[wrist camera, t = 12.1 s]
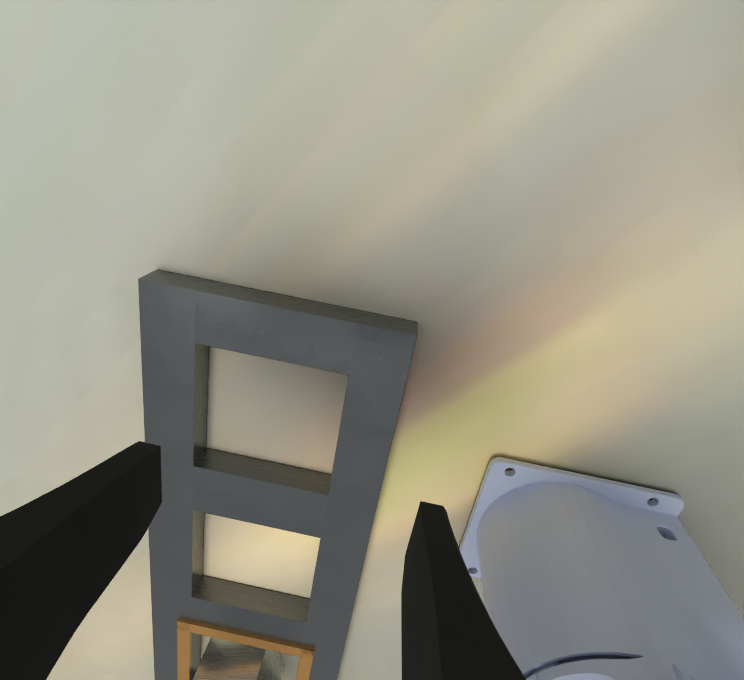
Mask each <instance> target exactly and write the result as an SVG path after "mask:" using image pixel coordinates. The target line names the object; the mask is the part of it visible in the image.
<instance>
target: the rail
mask: <svg viewBox="0 0 744 680" xmlns="http://www.w3.org/2000/svg"><path fill="white" fill-rule="evenodd" d="M138 282H139V306H140V331H141V355H142V379H143V404H144V428H145V443H150V444H155V445H159V446H161V480H162V503H161V505H160V507H159V509H158V511H157V513H156V514H155V516H154V518H153V520H152V522H151V524H150V525H149V550H150V574H151V598H152V622H153V647H154V671H155V680H193V678H194V676H195V673H196V671H197V669H198V666H199V664H200V655H201V635H204V636H209V637H213V638H218V639H222V640H226V641H231V642H235V643H240V644H244V645H249V646H253V647H258V648H262V649H267V650H271V651H275V652H280V653H284V654H289V655H293V656H298V657H300V660H299V665H298V671H297V677H296V680H336V679H337V674H338V670H339V666H340V662H341V657H342V653H343V649H344V644H345V640H346V636H347V632H348V627H349V623H350V619H351V615H352V610H353V606H354V602H355V597H356V593H357V589H358V585H359V580H360V576H361V572H362V567H363V563H364V559H365V555H366V550H367V546H368V542H369V538H370V533H371V529H372V525H373V520H374V516H375V512H376V508H377V503H378V499H379V495H380V491H381V486H382V482H383V478H384V473H385V469H386V465H387V461H388V456H389V452H390V448H391V444H392V439H393V435H394V431H395V426H396V422H397V418H398V414H399V409H400V405H401V401H402V397H403V392H404V388H405V384H406V379H407V375H408V371H409V367H410V362H411V358H412V354H413V350H414V345H415V341H416V337H417V323H418V322H414V321H409V320H404V319H400V318H395V317H390V316H385V315H380V314H375V313H370V312H365V311H360V310H355V309H350V308H345V307H340V306H335V305H330V304H325V303H320V302H315V301H310V300H306V299H301V298H296V297H291V296H286V295H281V294H276V293H271V292H266V291H261V290H256V289H251V288H246V287H241V286H236V285H231V284H226V283H221V282H217V281H212V280H207V279H202V278H197V277H192V276H187V275H182V274H177V273H172V272H167V271H162V270H155V271H153V272H151V273H149V274H147V275H145V276H143V277H141V278H139V279H138ZM209 346H211V347H215V348H220V349H225V350H230V351H235V352H240V353H244V354H249V355H254V356H259V357H264V358H269V359H274V360H278V361H283V362H288V363H293V364H298V365H303V366H307V367H312V368H317V369H322V370H327V371H332V372H337V373H341V374H346V375H349V378H348V384H347V390H346V395H345V401H344V407H343V413H342V419H341V424H340V430H339V436H338V442H337V447H336V453H335V459H334V465H333V471H332V475H330V474H325V473H321V472H316V471H311V470H307V469H302V468H297V467H293V466H288V465H283V464H278V463H274V462H269V461H264V460H260V459H255V458H250V457H246V456H241V455H236V454H232V453H227V452H222V451H217V450H213V449H208V448H206V433H207V396H208V359H209ZM204 513H208V514H213V515H217V516H222V517H227V518H231V519H236V520H240V521H245V522H250V523H254V524H259V525H264V526H268V527H273V528H277V529H282V530H287V531H291V532H296V533H300V534H305V535H310V536H314V537H319V538H321V540H320V546H319V551H318V557H317V563H316V569H315V574H314V580H313V586H312V592H311V597H310V599H307V598H302V597H298V596H293V595H289V594H284V593H280V592H275V591H271V590H266V589H262V588H257V587H253V586H248V585H244V584H239V583H235V582H230V581H225V580H221V579H216V578H212V577H207V576H203V544H204Z"/></svg>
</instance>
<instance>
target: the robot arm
mask: <svg viewBox="0 0 744 680" xmlns="http://www.w3.org/2000/svg"><path fill="white" fill-rule="evenodd" d="M507 468H513V470H511V471H506V469H507ZM651 498H654V499H653V500H650V501H648V500H649V499H651ZM161 503H162V480H161V446H159V445H155V444H150V443H145V442H140V441H139V442H137V443H135V444H133V445H131V446H130V447H128V448H126V449H124V450H123V451H121V452H119V453H118V454H116V455H114V456H112V457H111V458H109V459H107V460H106V461H104V462H102V463H100V464H99V465H97V466H95V467H94V468H92V469H90V470H88V471H86V472H85V473H83V474H81V475H79V476H78V477H76V478H74V479H72V480H71V481H69V482H67V483H65V484H63V485H62V486H60V487H58V488H56V489H54V490H52V491H50V492H48V493H46V494H44V495H42V496H40V497H39V498H37V499H35V500H33V501H31V502H29V503H27V504H25V505H23V506H21V507H19V508H17V509H15V510H13V511H11V512H9V513H7V514H5V515H3V516H0V680H46V679H47V677H48V675H49V674H50V672H51V670H52V669H53V667H54V665H55V664H56V662H57V660H58V659H59V657H60V655H61V654H62V652H63V650H64V649H65V647H66V645H67V644H68V642H69V640H70V639H71V637H72V636H73V634H74V632H75V631H76V629H77V628H78V626H79V625H80V624H81V622H82V621H83V619H84V618H85V616H86V615H87V613H88V612H89V611H90V609H91V608H92V606H93V605H94V604H95V602H96V601H97V600H98V598H99V597H100V596H101V594H102V593H103V591H104V590H105V589H106V587H107V586H108V585H109V583H110V582H111V580H112V579H113V578H114V576H115V575H116V574H117V572H118V571H119V570H120V568H121V567H122V565H123V564H124V563H125V561H126V560H127V558H128V557H129V556H130V554H131V553H132V552H133V550H134V549H135V547H136V546H137V545H138V543H139V542H140V540H141V539H142V537H143V536H144V534H145V532H146V531H147V529H148V527H149V525H150V524H151V522H152V520H153V518H154V516H155V514H156V513H157V511H158V509H159V507H160V505H161ZM683 508H684V502H683V500H682V499H681V497H680V496H679V495H677V494H674V493H669V492H664V491H659V490H655V489H650V488H645V487H640V486H636V485H631V484H626V483H621V482H616V481H612V480H607V479H602V478H597V477H593V476H588V475H583V474H578V473H574V472H569V471H564V470H559V469H554V468H550V467H545V466H540V465H535V464H531V463H526V462H521V461H516V460H511V459H507V458H502V457H497V458H494V459H492V460H491V461H490V462H489V465H488V467H487V470H486V473H485V476H484V479H483V482H482V485H481V487H480V490H479V493H478V496H477V499H476V502H475V505H474V507H473V510H472V513H471V516H470V519H469V522H468V524H467V527H466V530H465V533H464V536H463V539H462V542H461V544H460V547H458V545H457V542H456V539H455V536H454V534H453V531H452V528H451V525H450V522H449V519H448V515H447V512H446V510H445V508H444V507H443V506H440V505H436V504H431V503H426V502H422V501H421V502H420V505H419V509H418V512H417V516H416V519H415V523H414V526H413V530H412V533H411V537H410V540H409V544H408V547H407V551H406V554H405V563H404V573H403V583H402V680H744V618H743V617H742V615H741V614H740V612H739V611H738V609H737V608H736V606H735V604H734V603H733V601H732V600H731V598H730V597H729V595H728V594H727V592H726V591H725V589H724V588H723V586H722V584H721V583H720V581H719V580H718V578H717V577H716V575H715V574H714V572H713V571H712V569H711V568H710V566H709V565H708V563H707V561H706V560H705V558H704V557H703V555H702V554H701V552H700V551H699V549H698V548H697V546H696V545H695V543H694V542H693V540H692V538H691V537H690V535H689V534H688V532H687V531H686V529H685V528H684V526H683V525H682V523H681V522H680V520H679V518H678V516H679V515H680V513H681V511H682V510H683ZM471 567H474V568H471ZM471 577H476V578H481V579H482V587H483V596H484V604H485V606H484V604H483V602H482V600H481V598H480V596H479V594H478V592H477V590H476V587H475V585H474V583H473V581H472V578H471Z"/></svg>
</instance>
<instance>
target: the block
mask: <svg viewBox="0 0 744 680" xmlns="http://www.w3.org/2000/svg"><path fill="white" fill-rule="evenodd" d="M283 670H284V666H283V662H282V659H281V656H280V653H279V652H275V651H271V650H267V649H262V648H258V647H253V646H249V645H244V644H240V643H235V642H231V641H226V640H222V639H218V638H213V637H211V638H210V641H209V643H208V645H207V648H206V650H205V652H204V655H203V657H202V659H201V662H200V664H199V666H198V669H197V671H196V673H195V676H194V678H193V680H281V677H282V674H283Z"/></svg>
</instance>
